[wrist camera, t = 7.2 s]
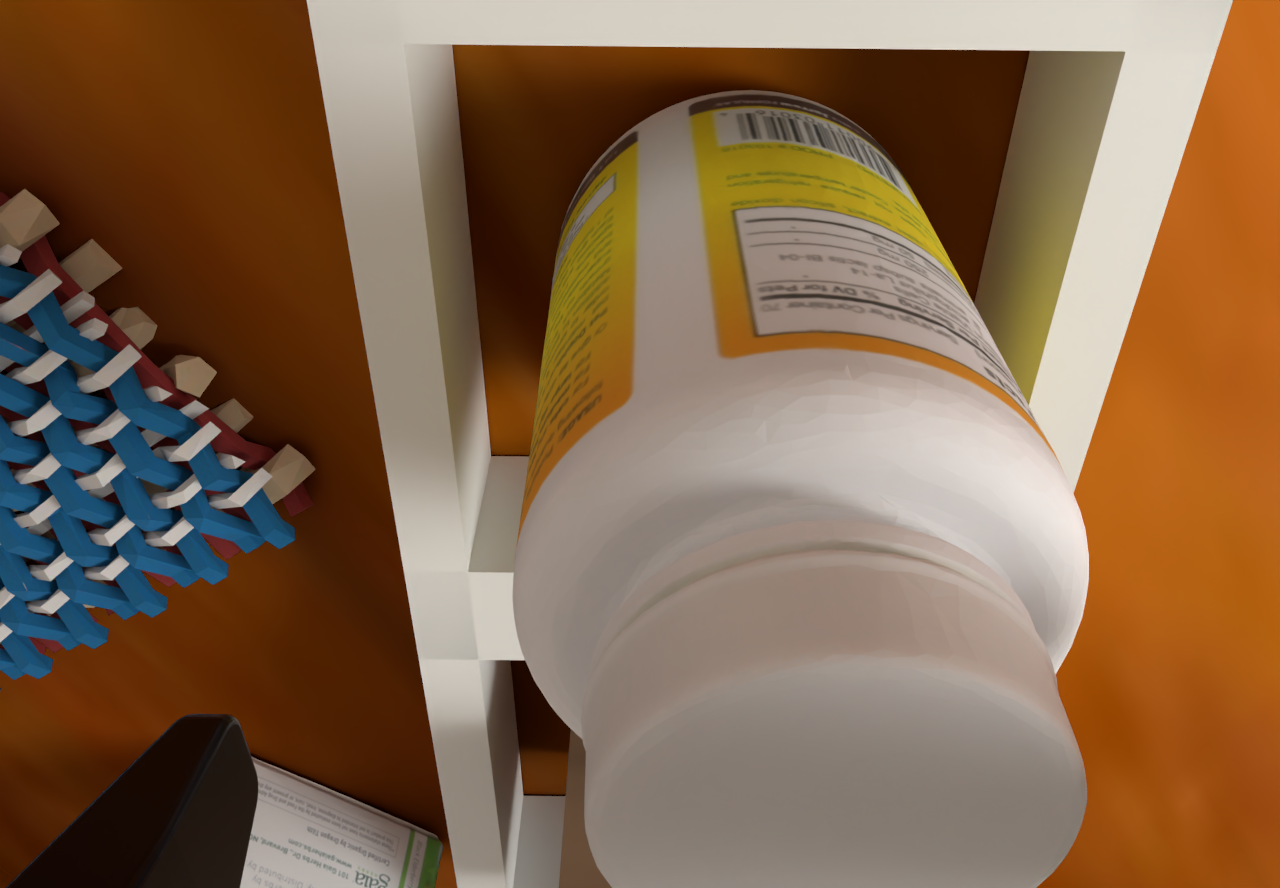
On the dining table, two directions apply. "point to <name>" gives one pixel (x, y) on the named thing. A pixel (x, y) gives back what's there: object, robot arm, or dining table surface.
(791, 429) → the supplement bottle
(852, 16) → the grey divided tray
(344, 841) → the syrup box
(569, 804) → the walnut block
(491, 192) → the dining table surface
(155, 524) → the woven mat
